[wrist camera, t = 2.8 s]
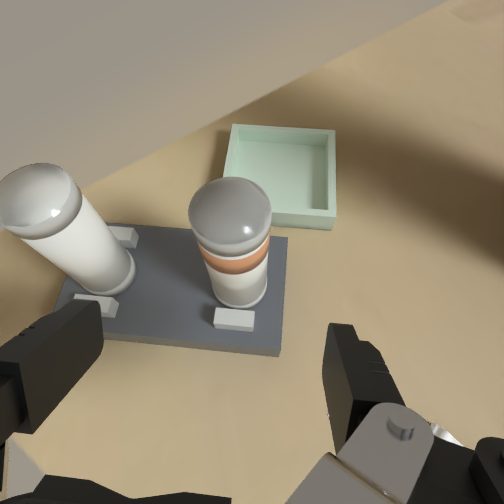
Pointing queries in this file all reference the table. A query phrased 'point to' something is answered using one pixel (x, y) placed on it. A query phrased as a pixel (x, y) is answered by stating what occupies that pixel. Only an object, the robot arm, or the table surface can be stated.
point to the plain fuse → (65, 228)
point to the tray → (288, 171)
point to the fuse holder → (185, 297)
